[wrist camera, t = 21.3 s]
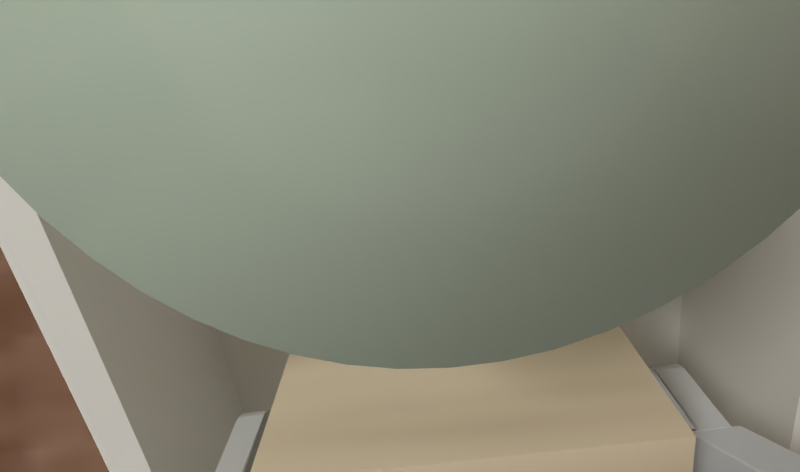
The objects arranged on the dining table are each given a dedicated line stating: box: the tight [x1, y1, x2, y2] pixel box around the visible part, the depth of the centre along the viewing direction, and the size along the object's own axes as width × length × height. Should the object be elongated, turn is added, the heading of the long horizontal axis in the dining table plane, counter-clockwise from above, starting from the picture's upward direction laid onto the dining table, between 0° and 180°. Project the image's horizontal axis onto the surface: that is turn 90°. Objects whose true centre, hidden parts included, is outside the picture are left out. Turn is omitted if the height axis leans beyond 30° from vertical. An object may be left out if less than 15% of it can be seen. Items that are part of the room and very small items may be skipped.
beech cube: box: [250, 326, 696, 472], centre depth 9 cm, size 5×5×5 cm
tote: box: [0, 177, 800, 472], centre depth 10 cm, size 18×14×5 cm
